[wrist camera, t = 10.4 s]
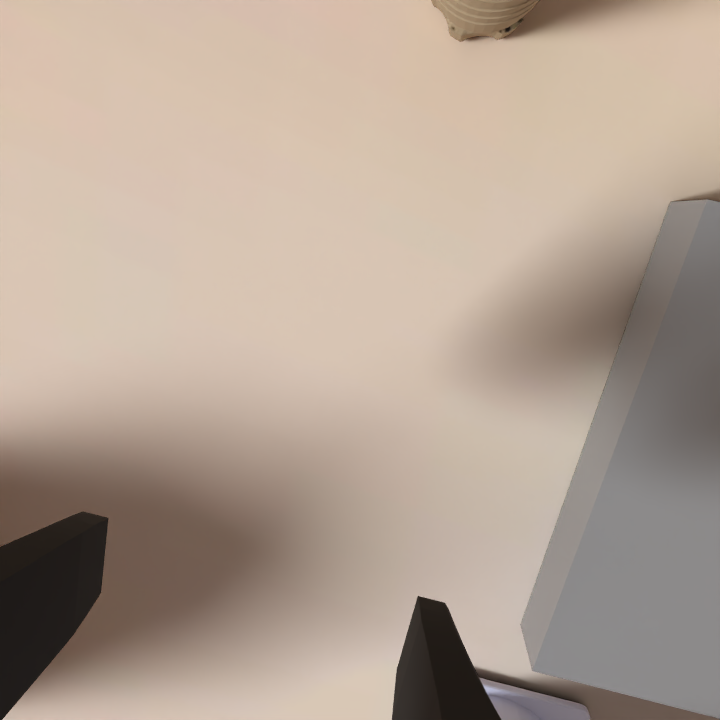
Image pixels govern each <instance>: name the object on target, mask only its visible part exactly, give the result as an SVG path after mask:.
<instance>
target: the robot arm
mask: <svg viewBox="0 0 720 720" xmlns="http://www.w3.org/2000/svg"><path fill="white" fill-rule="evenodd" d="M107 525H108V518H106V517H102V516H98V515H94V514H90V513H86V512H81V513H78V514H75V515H73V516H70V517H68V518H66V519H63V520H61V521H59V522H56V523H54V524H52V525H49V526H47V527H45V528H43V529H40V530H38V531H36V532H34V533H31V534H29V535H27V536H25V537H22V538H20V539H18V540H15V541H13V542H11V543H8V544H6V545H4V546H1V547H0V720H2V719H3V718H4V717H5V716H6V714H7V713H8V712H9V711H10V710H11V709H12V707H13V706H14V705H15V704H16V703H17V701H18V700H19V699H20V698H21V697H22V695H23V694H24V693H25V692H26V691H27V690H28V688H29V687H30V686H31V685H32V684H33V682H34V681H35V680H36V679H37V678H38V677H39V675H40V674H41V673H42V672H43V671H44V669H45V668H46V667H47V666H48V665H49V664H50V662H51V661H52V660H53V659H54V658H55V656H56V655H57V654H58V653H59V652H60V650H61V649H62V648H63V647H64V646H65V644H66V643H67V642H68V641H69V639H70V638H71V637H72V636H73V634H74V633H75V632H76V630H77V629H78V627H79V626H80V624H81V623H82V621H83V620H84V618H85V617H86V615H87V614H88V612H89V611H90V609H91V608H92V606H93V604H94V603H95V601H96V600H97V598H98V597H99V595H100V593H101V586H102V576H103V566H104V556H105V546H106V535H107ZM392 720H590V715H589V712H588V709H587V708H586V707H585V706H584V705H582V704H580V703H576V702H572V701H568V700H564V699H560V698H556V697H552V696H549V695H545V694H541V693H537V692H533V691H529V690H525V689H521V688H518V687H514V686H510V685H506V684H502V683H498V682H494V681H490V680H486V679H483V678H479V676H478V674H477V672H476V670H475V668H474V666H473V664H472V662H471V660H470V658H469V656H468V654H467V651H466V649H465V647H464V645H463V643H462V640H461V638H460V636H459V633H458V631H457V629H456V626H455V624H454V621H453V619H452V617H451V614H450V612H449V609H448V607H447V606H446V604H445V603H443V602H439V601H435V600H431V599H427V598H423V597H419V596H418V598H417V601H416V605H415V608H414V612H413V615H412V619H411V622H410V625H409V629H408V632H407V636H406V639H405V643H404V646H403V650H402V653H401V657H400V660H399V664H398V667H397V673H396V683H395V693H394V704H393V715H392Z"/></svg>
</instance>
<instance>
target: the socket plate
mask: <svg viewBox="0 0 720 720" xmlns="http://www.w3.org/2000/svg"><path fill="white" fill-rule="evenodd" d="M521 628H522V632H523V636H524V640H525V644H526V648H527V652H528V656H529V660H530V664H531V668H532V671H535V672H539V673H543V674H547V675H550V676H554V677H558V678H562V679H566V680H570V681H574V682H578V683H582V684H586V685H589V686H593V687H597V688H601V689H605V690H609V691H613V692H617V693H621V694H625V695H629V696H632V697H636V698H640V699H644V700H648V701H652V702H656V703H660V704H664V705H668V706H672V707H675V708H679V709H683V710H687V711H691V712H695V713H699V714H703V715H707V716H711V717H714V718H718V719H720V202H717V201H712V200H708V199H707V200H691V201H675V202H670V204H669V207H668V210H667V213H666V215H665V218H664V221H663V224H662V227H661V229H660V232H659V235H658V238H657V241H656V244H655V246H654V249H653V252H652V255H651V258H650V261H649V263H648V266H647V269H646V272H645V275H644V278H643V280H642V283H641V286H640V289H639V292H638V294H637V297H636V300H635V303H634V306H633V309H632V311H631V314H630V317H629V320H628V323H627V326H626V328H625V331H624V334H623V337H622V340H621V342H620V345H619V348H618V351H617V354H616V357H615V359H614V362H613V365H612V368H611V371H610V374H609V376H608V379H607V382H606V385H605V388H604V390H603V393H602V396H601V399H600V402H599V405H598V407H597V410H596V413H595V416H594V419H593V422H592V424H591V427H590V430H589V433H588V436H587V439H586V441H585V444H584V447H583V450H582V453H581V455H580V458H579V461H578V464H577V467H576V470H575V472H574V475H573V478H572V481H571V484H570V487H569V489H568V492H567V495H566V498H565V501H564V503H563V506H562V509H561V512H560V515H559V518H558V520H557V523H556V526H555V529H554V532H553V535H552V537H551V540H550V543H549V546H548V549H547V551H546V554H545V557H544V560H543V563H542V566H541V568H540V571H539V574H538V577H537V580H536V583H535V585H534V588H533V591H532V594H531V597H530V599H529V602H528V605H527V608H526V611H525V614H524V616H523V619H522V622H521Z"/></svg>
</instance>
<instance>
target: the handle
mask: <svg viewBox="0 0 720 720" xmlns="http://www.w3.org/2000/svg"><path fill="white" fill-rule="evenodd" d="M431 1H432V3H433V5H434V7H436V8H438V9H439V10H440V11H441V12H442V13H443V14H444V16H445V18H446V20H447V23H448V26H449V33H450V35H451V36H452V37H453V38H455V39H456V40H458V41H460V42H461V41H464V40H465V39H467V38H470V37H475V36H490V37H494V38H495V39H497V40H498V39H502V38H503V37H505V36H507V35H509V34H510V33H511V32H513V31H514V30H515V29H516V28H517V27H518V25H519V24H520V23H521V22H522V20H523V16H525V15H526V14H527V13H528V12H529V11H531V10H532V8H533V7H534V6H535V5H536V4H537V3H538V2H539V1H540V0H431Z"/></svg>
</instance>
